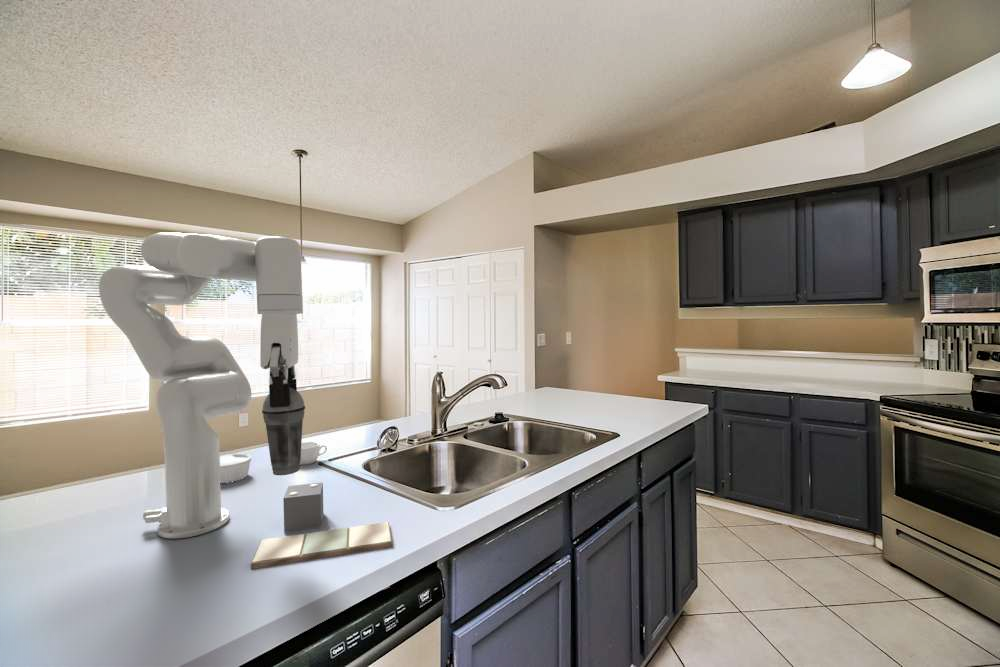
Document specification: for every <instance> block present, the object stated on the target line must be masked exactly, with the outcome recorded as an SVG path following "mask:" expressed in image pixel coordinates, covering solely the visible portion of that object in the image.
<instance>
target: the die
mask: <svg viewBox="0 0 1000 667" xmlns="http://www.w3.org/2000/svg"><path fill="white" fill-rule="evenodd" d="M323 517H324V482H316V483H315V482H314V483H305V484H296V485H288V486H287V488H286V491H285V494H284V496H283V531H284V532H283V533H289V532H294V531H296V532H297V531H302V530H309V529H317V528H322V526H323V519H324V518H323Z"/></svg>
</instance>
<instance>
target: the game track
mask: <svg viewBox="0 0 1000 667" xmlns="http://www.w3.org/2000/svg"><path fill="white" fill-rule="evenodd" d="M391 546H392V547H393V540H392V534H391V527H390V522H389V521H385V522H379V523H371V524H365V525H356V526H350V527H343V528H337V529H336V528H335V529H328V530H327V529H326V530H322V531H314V532H308V533H307V532H306V533H300V534H294V535H285V536H280V537H272V538H264V539H261V540H260V542H259V544H258V546H257V548H256V551H255V553H254V555H253V557H252V560H251V562H250V570H252V569H258V568H259V569H260V568H265V567H270V566H276V565H277V566H278V565H283V564H291V563H296V562H303V561H309V560H315V559H316V560H317V559H322V558H323V559H324V558H328V557H334V556H342V555H347V554H355V553H360V552H361V553H362V552H367V551H373V550H378V549H379V550H380V549H385V548H384V547H387V548H391Z"/></svg>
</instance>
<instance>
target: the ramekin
mask: <svg viewBox="0 0 1000 667" xmlns="http://www.w3.org/2000/svg"><path fill="white" fill-rule="evenodd" d="M251 461H252V457H251V455H248V454H244V453H232V454H224V455H220V483H227V482H232V481H236V480H239V479H242V478H244V477H245V478H246V477H247V476H248V475H249V471H250V466H251V465H250V464H251ZM245 478H244V479H245ZM242 480H243V479H242ZM239 481H240V480H239ZM236 482H237V481H236ZM232 483H233V482H232ZM227 484H228V483H227Z"/></svg>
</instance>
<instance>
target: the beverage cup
mask: <svg viewBox="0 0 1000 667" xmlns="http://www.w3.org/2000/svg"><path fill="white" fill-rule="evenodd" d="M279 366H280V364H279ZM305 409H306V406H305V402H304V399H303V396H302V395H301V393H300V392H299V391H298V390H297V391H296V390H294V389H292V388H290V405H289V406H287V407H273V408H272V407H270V395H269V393H268V394H267V395H266V397H265V399H264V401H263V404H262V410H261V413H262V418H263V421H264V424H265V429H266V436H267V443H268V451H269V459H270V466H271V468H272V474H273V475H274V476H288V475H292V474H294V473H295V474H296V473H298V472H300V466H301V465H300V461H301V443H303V441H302V440H303V439H302V438H303V420H304V417H305Z"/></svg>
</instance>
